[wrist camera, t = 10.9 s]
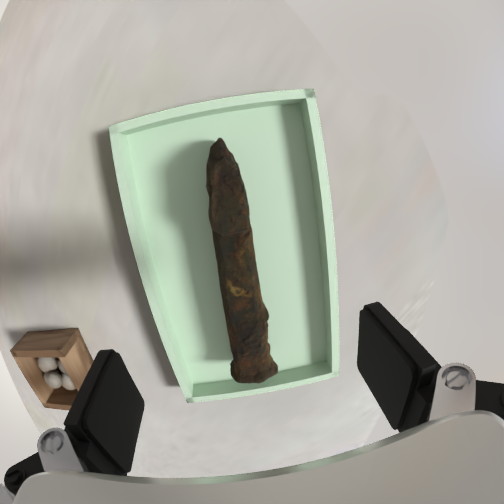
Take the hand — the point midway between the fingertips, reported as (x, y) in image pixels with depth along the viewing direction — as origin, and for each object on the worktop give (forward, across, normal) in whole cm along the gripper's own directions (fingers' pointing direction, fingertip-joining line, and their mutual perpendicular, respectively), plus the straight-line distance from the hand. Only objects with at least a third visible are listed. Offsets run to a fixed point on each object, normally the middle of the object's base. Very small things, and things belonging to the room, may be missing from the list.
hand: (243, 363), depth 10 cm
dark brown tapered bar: (+13, 0, +1) cm, 13 cm away
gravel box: (+14, +21, +9) cm, 26 cm away
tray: (+14, 0, +1) cm, 14 cm away
